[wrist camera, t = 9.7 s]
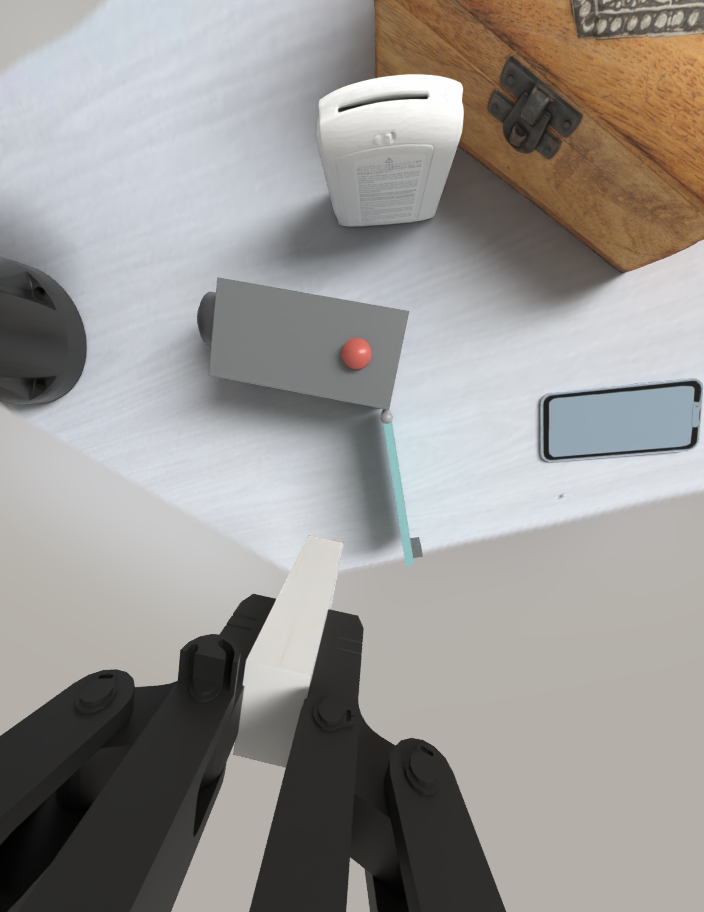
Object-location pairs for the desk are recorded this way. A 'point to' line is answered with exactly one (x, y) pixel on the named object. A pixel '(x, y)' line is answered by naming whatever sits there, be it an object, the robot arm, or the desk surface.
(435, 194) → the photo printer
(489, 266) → the desk surface
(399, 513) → the side door
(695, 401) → the smartphone
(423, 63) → the wooden box
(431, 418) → the desk surface
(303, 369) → the camera body
